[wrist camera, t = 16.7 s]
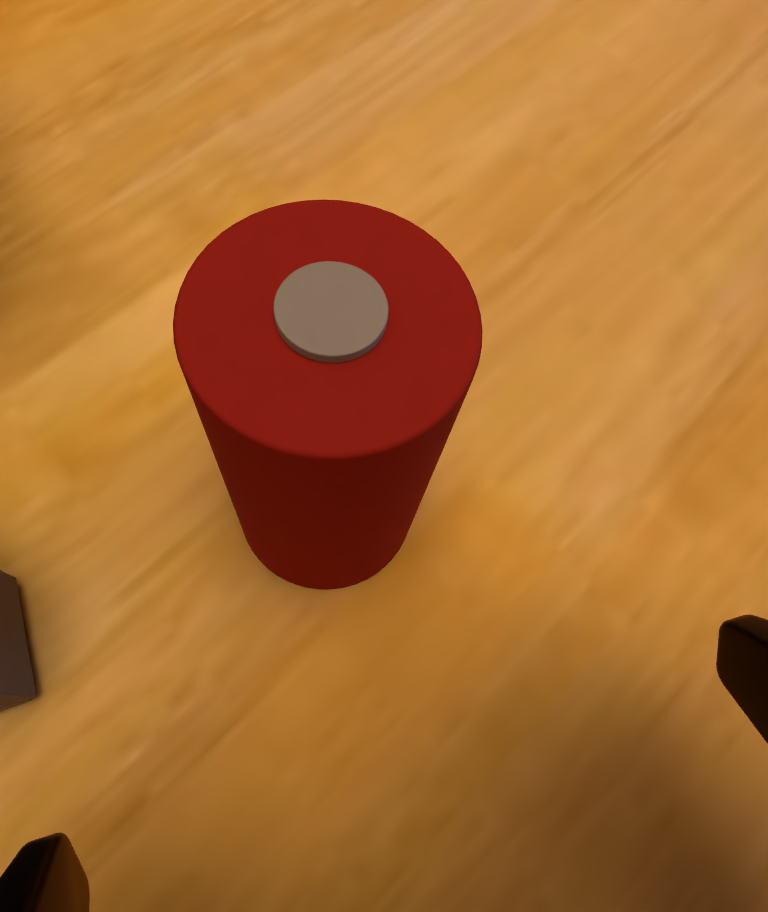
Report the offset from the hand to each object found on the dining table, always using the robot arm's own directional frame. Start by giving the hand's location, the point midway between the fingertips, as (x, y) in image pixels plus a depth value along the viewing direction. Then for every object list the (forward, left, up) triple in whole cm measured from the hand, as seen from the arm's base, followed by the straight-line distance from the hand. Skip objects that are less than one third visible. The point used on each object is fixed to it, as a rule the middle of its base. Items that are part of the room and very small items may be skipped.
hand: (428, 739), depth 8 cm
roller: (+3, +5, -7) cm, 9 cm away
